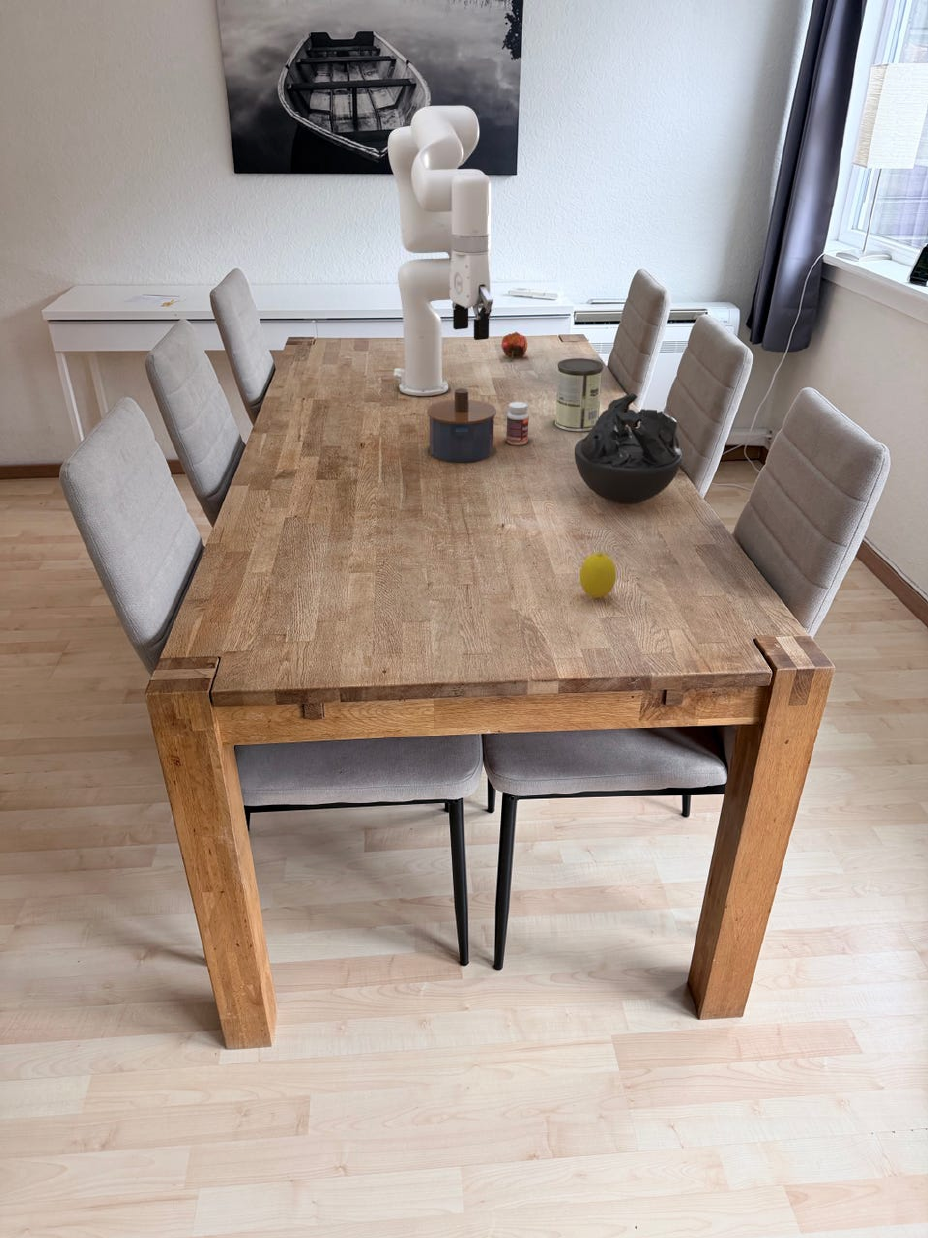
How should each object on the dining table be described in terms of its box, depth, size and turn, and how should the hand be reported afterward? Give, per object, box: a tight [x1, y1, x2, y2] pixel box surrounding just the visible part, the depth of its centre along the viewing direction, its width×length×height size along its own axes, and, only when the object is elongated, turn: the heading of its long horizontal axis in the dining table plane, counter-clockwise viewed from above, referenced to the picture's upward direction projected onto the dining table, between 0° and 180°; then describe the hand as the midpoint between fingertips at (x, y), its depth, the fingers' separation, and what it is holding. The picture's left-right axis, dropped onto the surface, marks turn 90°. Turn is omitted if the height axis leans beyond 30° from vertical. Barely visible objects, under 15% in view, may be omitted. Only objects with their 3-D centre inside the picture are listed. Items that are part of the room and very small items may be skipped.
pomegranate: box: [500, 331, 528, 362], centre depth 257 cm, size 7×7×10 cm
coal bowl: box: [574, 393, 683, 505], centre depth 170 cm, size 20×20×19 cm
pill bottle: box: [505, 401, 530, 446], centre depth 199 cm, size 5×5×8 cm
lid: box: [426, 388, 497, 424], centre depth 191 cm, size 15×15×5 cm
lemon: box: [579, 552, 617, 599], centre depth 140 cm, size 6×6×8 cm
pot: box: [429, 416, 495, 463], centre depth 195 cm, size 14×19×8 cm
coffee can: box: [554, 357, 604, 432], centre depth 208 cm, size 10×10×14 cm
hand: (470, 333), depth 185 cm, fingers open, 9 cm apart
